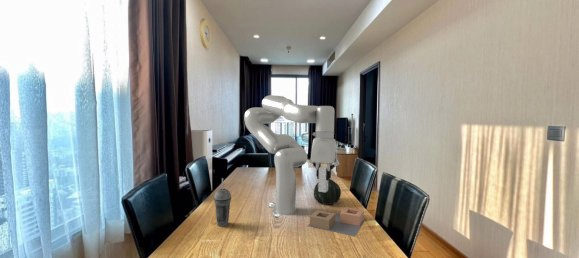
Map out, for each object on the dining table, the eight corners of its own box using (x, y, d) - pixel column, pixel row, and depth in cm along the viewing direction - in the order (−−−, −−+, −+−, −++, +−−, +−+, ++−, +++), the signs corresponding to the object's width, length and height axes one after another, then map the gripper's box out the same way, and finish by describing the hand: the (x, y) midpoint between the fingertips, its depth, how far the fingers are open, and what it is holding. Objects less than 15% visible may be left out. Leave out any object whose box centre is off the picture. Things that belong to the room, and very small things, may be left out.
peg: (318, 191, 113) (318, 167, 113) (320, 189, 116) (321, 166, 115) (325, 192, 112) (326, 168, 111) (328, 190, 115) (328, 167, 114)
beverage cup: (213, 228, 112) (213, 181, 111) (213, 222, 119) (213, 177, 118) (231, 227, 114) (231, 180, 113) (230, 220, 121) (230, 176, 120)
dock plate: (307, 229, 112) (307, 216, 112) (323, 214, 130) (323, 202, 130) (355, 240, 103) (355, 226, 103) (365, 222, 121) (365, 210, 121)
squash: (349, 192, 148) (333, 170, 152) (338, 201, 135) (321, 176, 140) (331, 205, 154) (316, 183, 159) (319, 214, 142) (303, 190, 146)
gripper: (303, 135, 113) (302, 178, 114) (341, 137, 105) (339, 183, 107) (309, 134, 120) (308, 175, 121) (346, 136, 112) (345, 179, 113)
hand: (323, 178), depth 114 cm, fingers closed on peg, 3 cm apart
